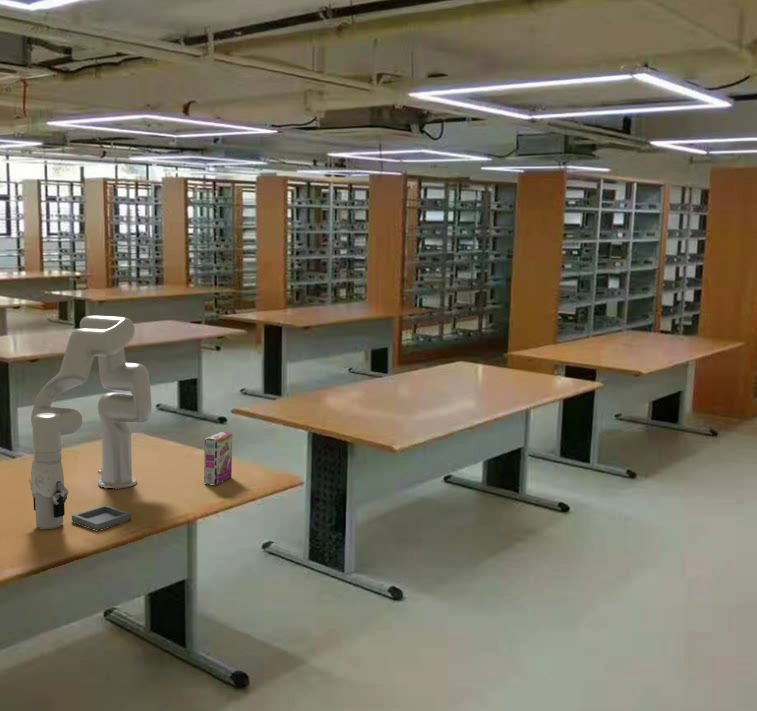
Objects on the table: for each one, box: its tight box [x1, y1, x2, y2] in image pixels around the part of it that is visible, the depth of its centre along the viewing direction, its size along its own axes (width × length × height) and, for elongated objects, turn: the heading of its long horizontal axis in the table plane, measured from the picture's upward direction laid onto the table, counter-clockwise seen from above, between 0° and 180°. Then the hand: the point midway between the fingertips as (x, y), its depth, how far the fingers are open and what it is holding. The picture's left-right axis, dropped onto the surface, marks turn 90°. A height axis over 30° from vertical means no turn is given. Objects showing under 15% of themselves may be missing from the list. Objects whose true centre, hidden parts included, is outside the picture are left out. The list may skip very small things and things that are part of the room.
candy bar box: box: [203, 431, 233, 486], centre depth 290 cm, size 11×5×16 cm, turn 161°
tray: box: [71, 504, 132, 532], centre depth 249 cm, size 12×12×2 cm
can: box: [35, 492, 64, 530], centre depth 243 cm, size 8×8×12 cm
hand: (49, 512), depth 243 cm, fingers open, 9 cm apart
